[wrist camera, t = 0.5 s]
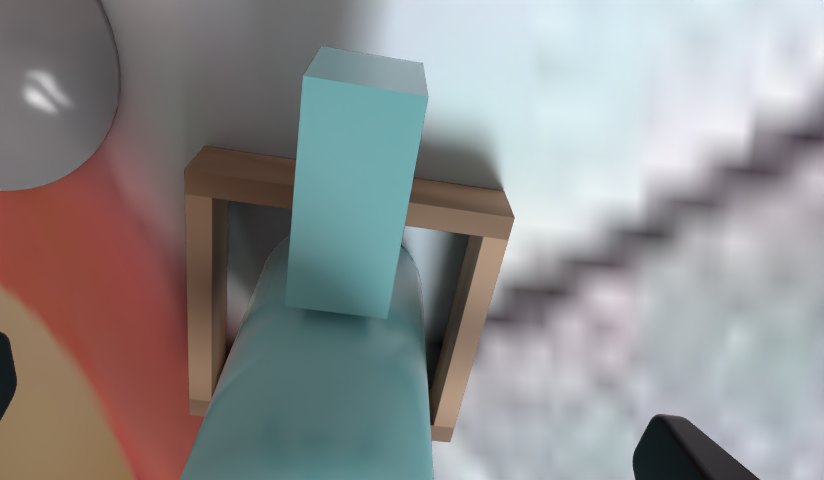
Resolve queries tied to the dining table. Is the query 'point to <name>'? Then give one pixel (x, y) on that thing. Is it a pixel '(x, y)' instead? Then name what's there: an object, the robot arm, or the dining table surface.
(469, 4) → the dining table surface
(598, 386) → the dining table surface
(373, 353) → the jug
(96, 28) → the coaster
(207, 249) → the holder
